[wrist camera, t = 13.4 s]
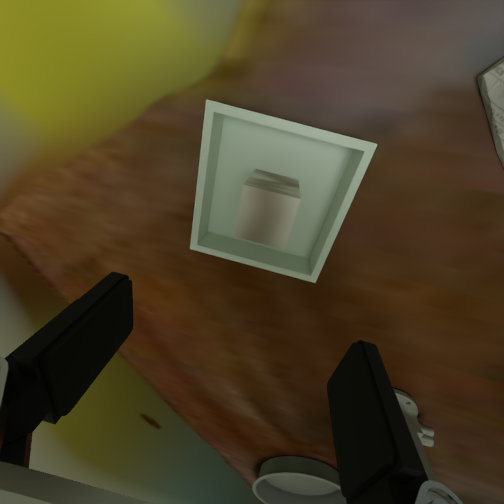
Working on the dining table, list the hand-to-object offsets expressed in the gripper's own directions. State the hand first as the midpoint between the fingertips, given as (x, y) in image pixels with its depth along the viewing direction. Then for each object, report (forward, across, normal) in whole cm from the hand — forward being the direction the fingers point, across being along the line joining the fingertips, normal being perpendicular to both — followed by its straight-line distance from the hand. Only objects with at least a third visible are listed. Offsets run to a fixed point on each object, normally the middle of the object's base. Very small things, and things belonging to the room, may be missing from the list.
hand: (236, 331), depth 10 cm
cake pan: (+23, -27, +71) cm, 79 cm away
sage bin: (+22, 0, 0) cm, 22 cm away
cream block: (+21, 0, 0) cm, 21 cm away
